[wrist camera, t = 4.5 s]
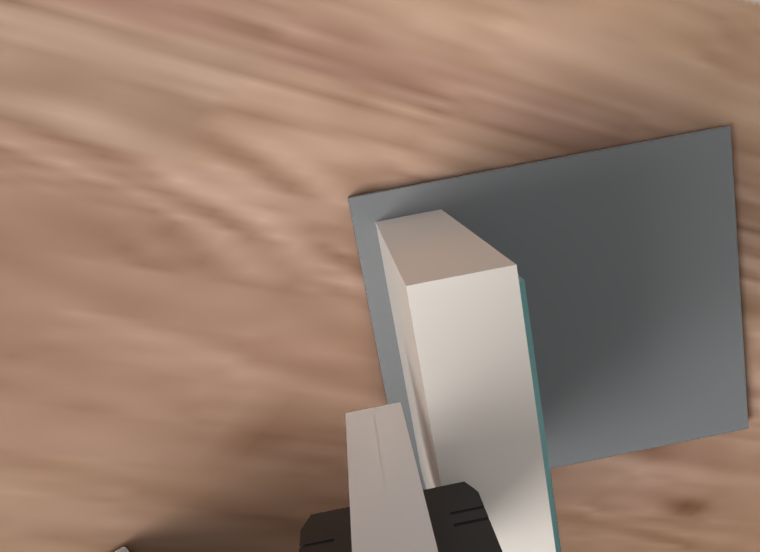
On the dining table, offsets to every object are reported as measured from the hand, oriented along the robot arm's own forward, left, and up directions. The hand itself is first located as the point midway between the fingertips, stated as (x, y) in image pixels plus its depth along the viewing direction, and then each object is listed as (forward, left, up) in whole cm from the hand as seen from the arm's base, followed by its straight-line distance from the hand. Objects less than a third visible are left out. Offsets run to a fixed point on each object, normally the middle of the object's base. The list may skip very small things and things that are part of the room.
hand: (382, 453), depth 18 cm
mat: (0, -7, -8) cm, 11 cm away
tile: (0, -2, -7) cm, 8 cm away
